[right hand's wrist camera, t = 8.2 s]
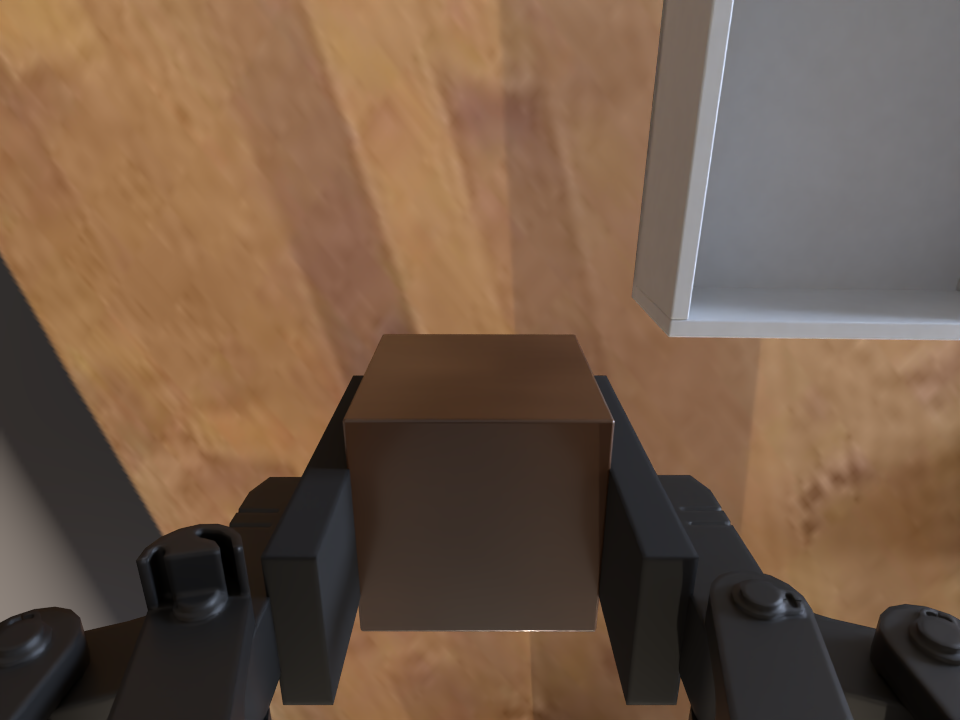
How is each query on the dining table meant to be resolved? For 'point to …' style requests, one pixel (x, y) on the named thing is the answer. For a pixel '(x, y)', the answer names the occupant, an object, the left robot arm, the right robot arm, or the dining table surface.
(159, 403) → the dining table surface
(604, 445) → the walnut block
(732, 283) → the grey bin
